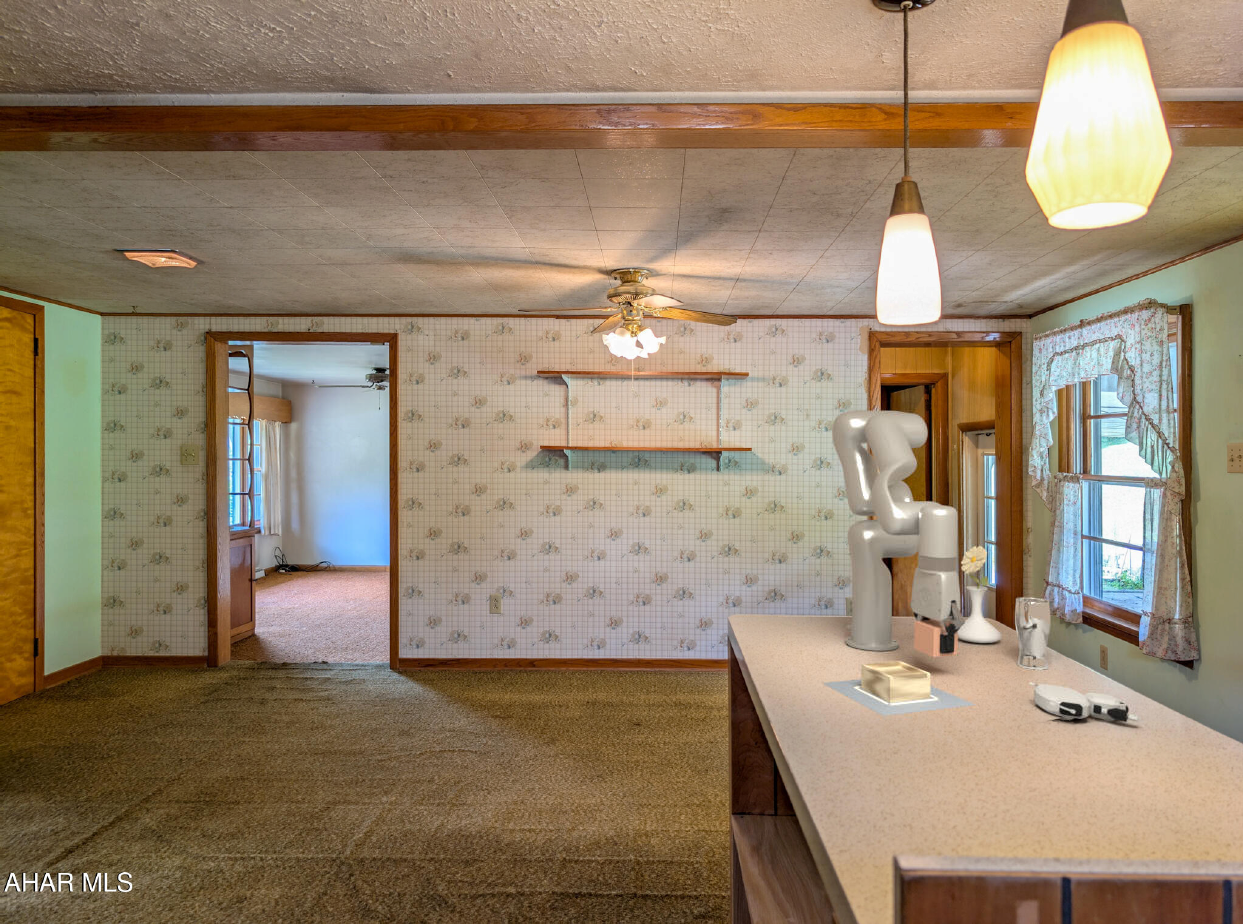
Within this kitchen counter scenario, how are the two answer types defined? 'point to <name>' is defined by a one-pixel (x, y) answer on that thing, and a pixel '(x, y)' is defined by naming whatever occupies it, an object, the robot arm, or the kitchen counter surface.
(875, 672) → the maple base
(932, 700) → the board
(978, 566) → the flower in vase
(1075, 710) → the robot toy
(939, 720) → the kitchen counter surface
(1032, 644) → the beer glass
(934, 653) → the terracotta cube
